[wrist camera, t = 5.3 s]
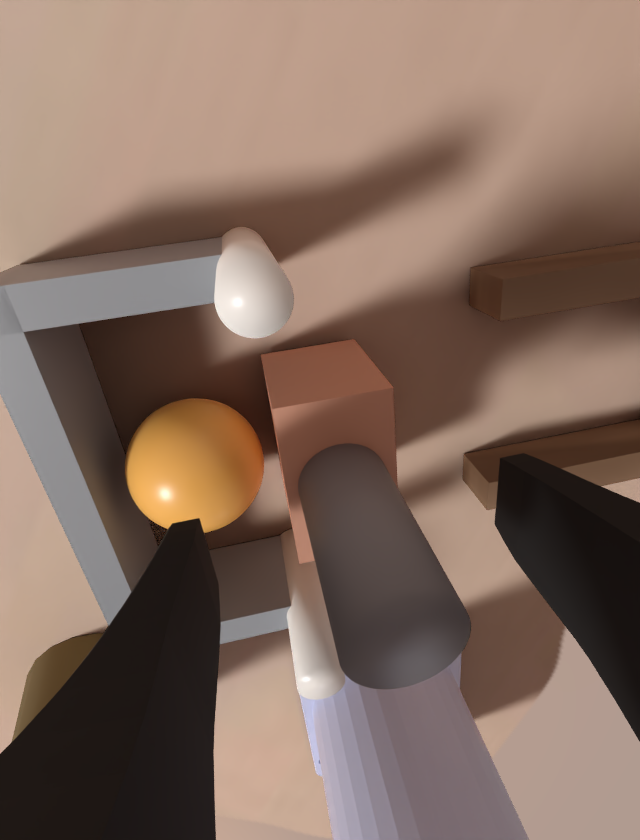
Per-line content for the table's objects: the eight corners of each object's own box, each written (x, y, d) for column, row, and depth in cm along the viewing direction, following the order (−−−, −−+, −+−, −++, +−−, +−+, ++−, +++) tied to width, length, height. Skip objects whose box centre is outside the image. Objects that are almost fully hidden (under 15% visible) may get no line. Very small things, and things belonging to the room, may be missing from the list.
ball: (124, 564, 14) (174, 482, 17) (258, 563, 13) (283, 478, 17) (76, 446, 12) (143, 380, 15) (230, 438, 11) (264, 372, 15)
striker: (364, 469, 18) (480, 708, 10) (283, 484, 17) (335, 746, 9) (353, 339, 15) (496, 514, 7) (260, 354, 15) (302, 554, 7)
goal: (313, 552, 19) (347, 692, 14) (144, 587, 19) (113, 750, 13) (262, 223, 13) (288, 253, 8) (14, 257, 13) (-133, 313, 8)
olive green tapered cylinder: (111, 610, 19) (-5, 1066, 9) (206, 682, 22) (192, 1088, 12) (-8, 682, 19) (-238, 1185, 10) (99, 743, 22) (4, 1178, 13)
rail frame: (655, 440, 20) (697, 465, 18) (462, 479, 19) (487, 510, 17) (709, 231, 16) (769, 237, 14) (470, 267, 15) (503, 279, 13)
